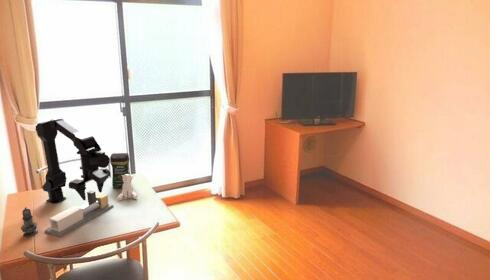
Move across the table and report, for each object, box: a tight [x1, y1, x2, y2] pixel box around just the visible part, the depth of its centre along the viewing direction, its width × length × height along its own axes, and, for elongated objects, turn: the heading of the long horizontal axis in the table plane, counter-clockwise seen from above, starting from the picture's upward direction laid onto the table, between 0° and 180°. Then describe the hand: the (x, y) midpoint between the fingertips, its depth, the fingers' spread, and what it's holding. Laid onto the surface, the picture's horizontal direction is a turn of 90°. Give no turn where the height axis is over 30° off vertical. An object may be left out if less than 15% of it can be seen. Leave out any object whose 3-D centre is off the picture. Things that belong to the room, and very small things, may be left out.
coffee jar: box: [109, 152, 131, 189], centre depth 186 cm, size 10×8×19 cm
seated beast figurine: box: [116, 173, 138, 201], centre depth 175 cm, size 10×9×12 cm
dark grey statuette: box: [20, 206, 39, 238], centre depth 141 cm, size 6×6×12 cm
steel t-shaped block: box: [78, 190, 101, 215], centre depth 157 cm, size 3×17×8 cm, turn 156°
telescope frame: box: [44, 192, 114, 238], centre depth 154 cm, size 9×29×6 cm, turn 156°
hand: (92, 196), depth 159 cm, fingers open, 9 cm apart
